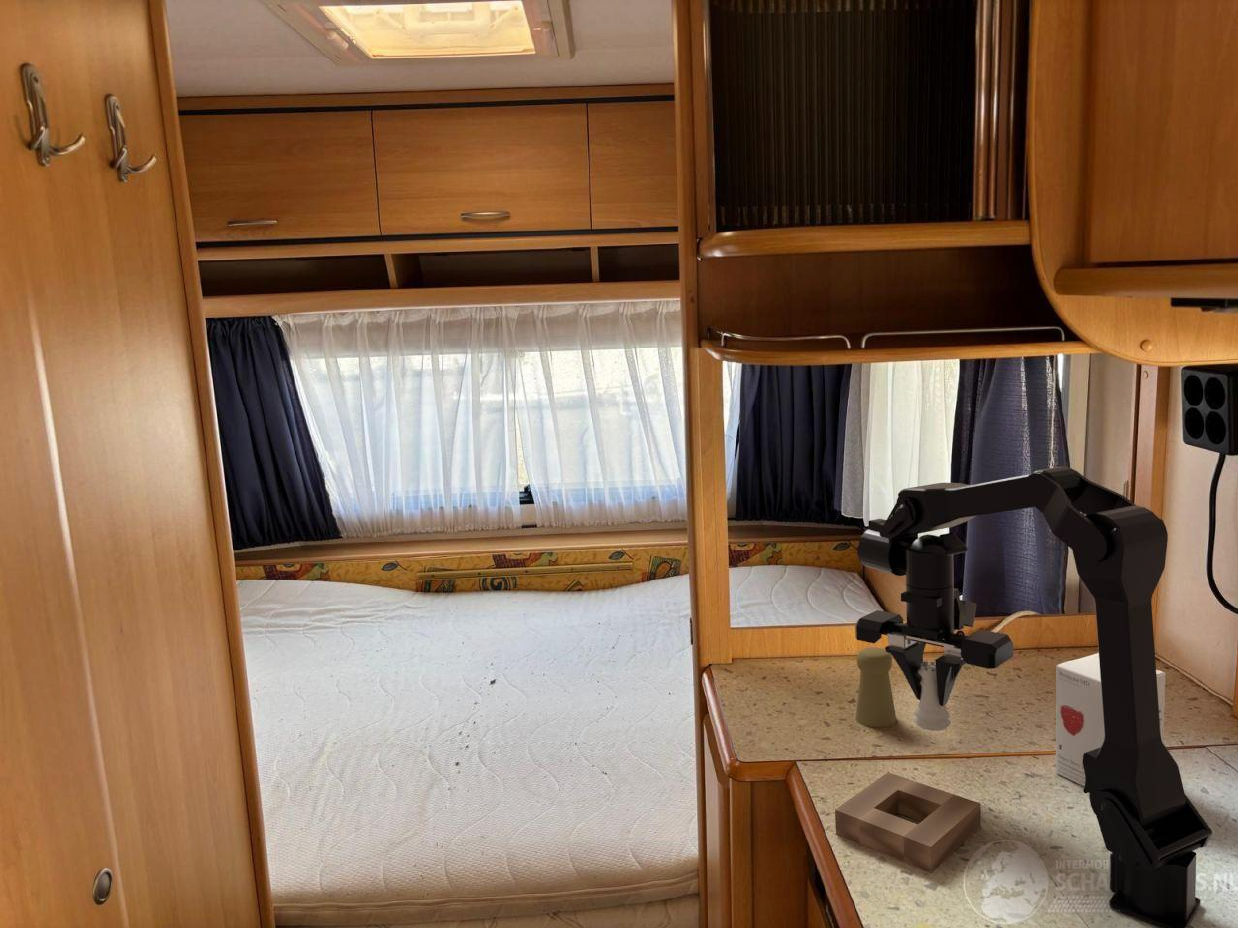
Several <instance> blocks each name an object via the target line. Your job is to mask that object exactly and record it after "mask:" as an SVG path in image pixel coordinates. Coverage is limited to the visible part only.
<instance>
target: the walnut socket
mask: <svg viewBox="0 0 1238 928" xmlns="http://www.w3.org/2000/svg"><path fill="white" fill-rule="evenodd" d="M981 808H982V807H981V802H977V801H975V800H971V799H969V798H966V797H963V796H960V795H956V794H954V793H950V792H948V791H945V790H942V789H939V788H936V787H933V786H930V785H927V784H924V783H921V782H918V781H915V780H912V779H910V778H907V777H904V776H901V775H898V774H895V773H891V772H889V771H888V772H886V773H884V774H883V775H882V776H880V777H878V779H876V780H875V781H873V782H872V783H870V784H869V785H868V786H866V787H865V788H863V789H861V790H860V791H859V792H858V793H856V794H855V795H853V796H852V797H851V798H849V799H847V800H846V801H845V802H844V803H842V804H841V805H839V806H838V807H837V808H835V809H834V817H835V819H834V821H835V822H834V823H835V824H834V825H835V835H838V836H841V837H843V838H846V839H847V840H848V839H849V840H851V841H853V842H855V843H859V844H861V845H863V846H865V847H868V848H870V849H873V850H875V851H878V852H880V853H882V854H884V855H887V856H890V857H892V858H893V859H897V860H900V861H901V862H904V863H907V864H909V865H911V866H914V867H916V868H919V869H921V870H923V871H926V872H929V873H933V872H934V871H935V870H936V869H937V868H939V866H940V865H942V864H943V863H944V862H945V861H946V860H947V859H948V858H949V857H950V856H952V854H954V853H955V852H956V851H957V850H958V849H959V848H961V846H963V844H965V843H966V841H968V840H969V839H970V838H971V837H972V836H973V835H974V834H976V833H977V832H978V830H980V829H981V828H982V818H981V817H982V815H981V812H982V809H981ZM897 814H901V815H902V816H905V817H908V818H912V819H914V820H916V821H919V823H918V824H917V823H914V822H911V821H909V820H907V819H903V818H902V817H899V816H896V815H897Z"/></svg>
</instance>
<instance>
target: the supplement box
mask: <svg viewBox="0 0 1238 928" xmlns="http://www.w3.org/2000/svg"><path fill="white" fill-rule="evenodd" d="M1055 671H1056V685H1055V688H1056V691H1055V692H1056V696H1055V697H1056V701H1055V702H1056V703H1055V704H1056V707H1055V708H1056V709H1055V710H1056V713H1055V714H1056V715H1055V726H1056V727H1055V774H1058V775H1059V776H1062V777H1063V778H1066V779H1067V780H1069V781H1072V782H1074V783H1076V784H1078V785H1080V786H1082V787H1084V786H1085V772H1084V767H1083V754H1084V753H1086V752H1089V751H1092V750H1094V749H1097V748H1100V747H1101V746H1102V743H1103V741H1104V735H1105V733H1104V720H1103V706H1102V692H1101V678H1100V664H1099V652H1097V653H1094V654H1091V655H1087V656H1084V657H1081V658H1077V659H1073V660H1069V661H1064V662H1062V663H1059V664H1056V670H1055ZM1166 675H1167V673H1166V672H1164V671H1162V670H1158V669H1156V676H1157V690H1158V705H1159V719H1160V734H1161V740H1162V742H1163V743H1164V740H1165V739H1164V737H1165V736H1164V734H1165V733H1164V732H1165V708H1166V707H1165V697H1166Z"/></svg>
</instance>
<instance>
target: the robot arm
mask: <svg viewBox="0 0 1238 928" xmlns="http://www.w3.org/2000/svg"><path fill="white" fill-rule="evenodd" d="M896 498H897V499H896V503H895V504H894V506H893V508H892V509H891V511H890V512H889V515H888V517H887V518H886V519H883V518H876V519H871V520H870V519H869V520H868V523H867V524H868V529H866V530H865V531H864V532H863V534H862V535H861V536H860V539H859V541H858V545H857V546H856V553H857V554H856V555H857V557H858V560H859V562H860V563H861V564H862V565H863V566H864V567H866V568H869V569H871V570H872V569H873V570H876V571H879V572H883V573H887V574H891V575H893V576H897V577H904V576H905V591H903V592H901V593H900V602H903V603H905V606H906V622H905V623H904V618H903V616H901V614H900V613H895V612H894V613H893V612H890V611H884V610H877V609H876V610H874V611H872V612H870V613H868V614H866V615H864V616H860V617H859V618H858V619H857V620H856V623H855V626H854V634H855V636H854V638H855V639H856V640H857V641H859V642H860V641H861V642H865V643H870V644H876V643H878V641H880V640H881V639H882V637H883V636H887V642H888V643H887V646H885V647H884V649H885V651H886V652H888V653H890V655H891V657H892V659H893V660H894V661H895V662H896V664H897V665H898V667H899V668H900V670H901V671H902V674H903V675H904V677H905V679H906V681H907V683H908V684H909V687H910V689H911V691H912V692H913V694H914V697H915V698H916V700H919V701H920V699H921V691H922V685H921V684H920V681H921V680H922V677H921V675H920V674H919V673H918V670H919V669H920V667H921V663H923V662H924V654H925V653H924V652H925V649H926V645H931V646H936V647H940V648H943V655H942V656H939V657H938V658H936V659H935V660H934V662H935V665H936V676H937V689H938V698H939V703H940V705H941V706H944V705H945V706H947V704H948V701H949V699H950V695H951V693H952V690H953V688H954V685H955V682H956V680H957V677H958V676H959V673H960V671H961V669H962V668H963V666H964V665H966V664H967V665H969V666H970V665H971V666H975V667H978V668H984V669H988V670H993V669H996V668H998V667H1000V666H1001V665H1002V664H1004V663H1006V662H1007V661H1009V660H1010V659H1012V658H1013V657H1014V642H1013V640H1012V639H1011V638H1010V636H1009V635H1008V634H1005V633H1000V632H997V631H990V630H985V629H979V630H977V631H976V632H974V633H972V634H971V635H964V634H963V635H962V634H959V633H955V631H961V630H963V629H964V628H965V627H968V628H973V627H974V623H975V616H976V611H977V603H975V602H970V601H966V600H963V599H962V600H961V597H960V595H961V594H960V591H959V588H954V587H955V585H954V584H955V583H954V582H955V579H954V578H955V577H954V569H955V568H954V556H955V555H959V554H961V553H963V554H964V553H967V552H968V551H969V550H968V546H967V545H966V544H965V543H964V542H963V541H962V540H960V539H959V538H958V537H957V535H956V534H955V532H948V533H943V534H939V535H934V534H924V533H928V532H934V531H939V530H943V529H948V528H954V527H956V526H958V525H961V524H963V523H966V522H968V521H970V520H972V519H973V518H975V517H978V516H983V515H990V514H995V513H1004V512H1011V511H1017V510H1024V509H1031V508H1035V509H1037V510H1038V511H1039V512H1041V513H1042V515H1043V516H1044V519H1045V521H1046V523H1047V525H1048V526H1049V527H1048V528H1049V529H1050V531H1051V533H1052V534H1053V535H1054V536H1055V537H1056V538H1058V539H1059V540H1060V541H1061V542H1062V543H1063V544H1064V545H1066V546H1067V547H1068V548H1069V549H1070V550H1071V551H1072V555H1073V560H1074V564H1075V567H1076V572H1077V575H1078V577H1079V578H1080V579H1081V581H1082V582H1083V585H1085V587H1086V588H1087V590H1088V592H1089V593H1090V595H1092V597H1093V600H1094V608H1095V620H1096V621H1095V622H1096V634H1097V635H1096V636H1097V649H1098V653H1099V664H1100V678H1101V692H1102V706H1103V720H1104V733H1105V735H1104V741H1103V743H1102V746H1101V747H1100V748H1097V749H1094V750H1092V751H1089V752H1086V753H1084V754H1083V767H1084V772H1085V786H1083V789H1082V792H1083V793H1084V794H1088V796H1089V804H1090V807H1091V809H1092V812H1093V814H1094V815H1095V816H1096V819H1097V823H1098V826H1099V829H1100V832H1101V835H1102V839H1103V843H1104V847H1105V849H1106V851H1108V852H1111V853H1110V855H1109V859H1110V860H1109V890H1110V892H1111V893H1113V895H1112V897H1111V898H1110V899H1109V901H1108V903H1109V904H1108V905H1109V907H1110V908H1111V909H1113V910H1116V911H1118V912H1121V913H1124V914H1127V915H1129V916H1131V917H1135V918H1136V919H1139V920H1142V921H1144V922H1147V923H1150V924H1153V925H1155V926H1158V927H1160V928H1188V927H1189V925H1190V923H1191V922H1192V920H1193V918H1195V915H1196V913H1197V912H1198V910H1199V908H1200V907H1201V899H1200V898H1198V897H1196V884H1197V883H1196V881H1197V852H1195V851H1196V850H1198V849H1202V848H1205V847H1206V846H1207V844H1208V842H1209V841H1210V838H1211V837H1212V835H1213V830H1212V829H1211V828H1210V826H1209V824H1208V823H1207V822H1206V820H1205V819H1204V817H1203V816H1202V814H1200V812H1199V811H1198V810H1197V808H1196V807H1195V806H1194V804H1193V803H1192V801H1191V799H1189V797H1188V796H1187V795H1186V793H1185V789H1184V784H1183V781H1182V776H1181V772H1180V767H1179V765H1178V763H1177V761H1176V760H1175V759H1174V756H1173V755H1172V754H1171V752H1170V751H1169V749H1167V747H1166V746H1165V744H1164V742H1162V740H1161V734H1160V719H1159V705H1158V690H1157V676H1156V670H1157V664H1156V663H1157V662H1156V650H1155V635H1154V620H1153V605H1152V601H1153V600H1152V599H1153V595H1154V593H1155V591H1156V589H1157V586H1158V584H1159V582H1160V579H1161V577H1162V575H1163V573H1164V570H1165V568H1166V559H1167V558H1166V557H1167V550H1168V542H1169V541H1168V540H1169V535H1168V529H1167V526H1166V524H1165V522H1164V520H1163V519H1161V518H1159V517H1158V515H1156V513H1155V512H1154V511H1152V510H1151V509H1149V508H1147V507H1145V506H1141V505H1137V504H1135V503H1134V502H1133V501H1131V500H1130V499H1129V498H1127V497H1126V496H1124V495H1123V494H1120V493H1119V492H1116V491H1115V490H1111V489H1109V488H1108V487H1105V486H1103V485H1100V484H1098V483H1096V482H1094V481H1092V480H1090V479H1089V478H1087V477H1085V476H1084V475H1083V474H1082V473H1080V472H1079V471H1077V470H1075V469H1074V468H1071V467H1069V466H1056V467H1048V468H1043V469H1037V470H1035V471H1033V472H1031V473H1029V474H1024V475H1017V476H1012V477H1008V478H1007V477H1006V478H1003V479H997V480H992V481H987V482H986V481H985V482H980V483H976V484H965V483H963V482H962V483H961V482H938V483H937V482H936V483H932V484H926V485H919V486H913V487H907V488H903V489H901V490H900V491H899V492H898V493H897V497H896ZM919 534H924V535H920V536H919Z"/></svg>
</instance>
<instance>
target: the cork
mask: <svg viewBox="0 0 1238 928" xmlns="http://www.w3.org/2000/svg"><path fill="white" fill-rule="evenodd" d="M856 655H857V656H856V665H857V668H858V669H859V671H860V672H859V673H860V674H859V681H858V682H859V683H858V692H857V702H856V709H855V711H856V712H855V721H856V722H858V723H859V724H861V725H863V726H866V727H870V728H887V727H891V726H893V725H895V724H896V722H897V715H896V710H895V704H894V702H895V701H894V697H893V691H892V690H893V689H892V685H891V679H890V673H889V672H890V671H891V669H892V665H893V656H892V655H891V654H890V653H888V652H886V651H885V648H882V647H877V646H876V647H875V646H873V647H872V646H870V647H864V648H862V649H860V650H858V653H857V654H856Z"/></svg>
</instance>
